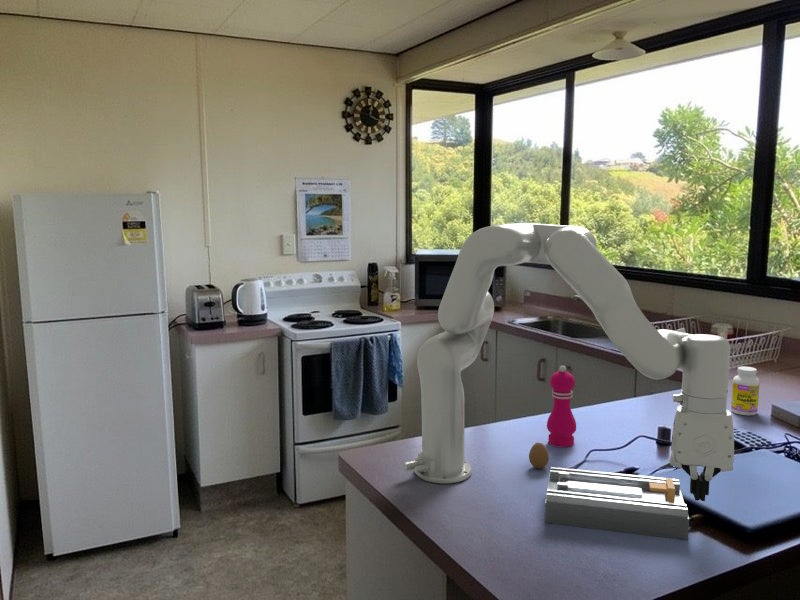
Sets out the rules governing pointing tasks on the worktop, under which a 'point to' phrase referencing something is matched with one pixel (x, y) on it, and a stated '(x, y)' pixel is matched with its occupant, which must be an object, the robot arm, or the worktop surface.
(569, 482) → the light grey bar
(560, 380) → the pepper mill
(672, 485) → the latch
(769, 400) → the worktop surface
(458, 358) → the robot arm
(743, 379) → the supplement bottle
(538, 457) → the egg
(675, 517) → the grey ridged tray
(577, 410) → the worktop surface
